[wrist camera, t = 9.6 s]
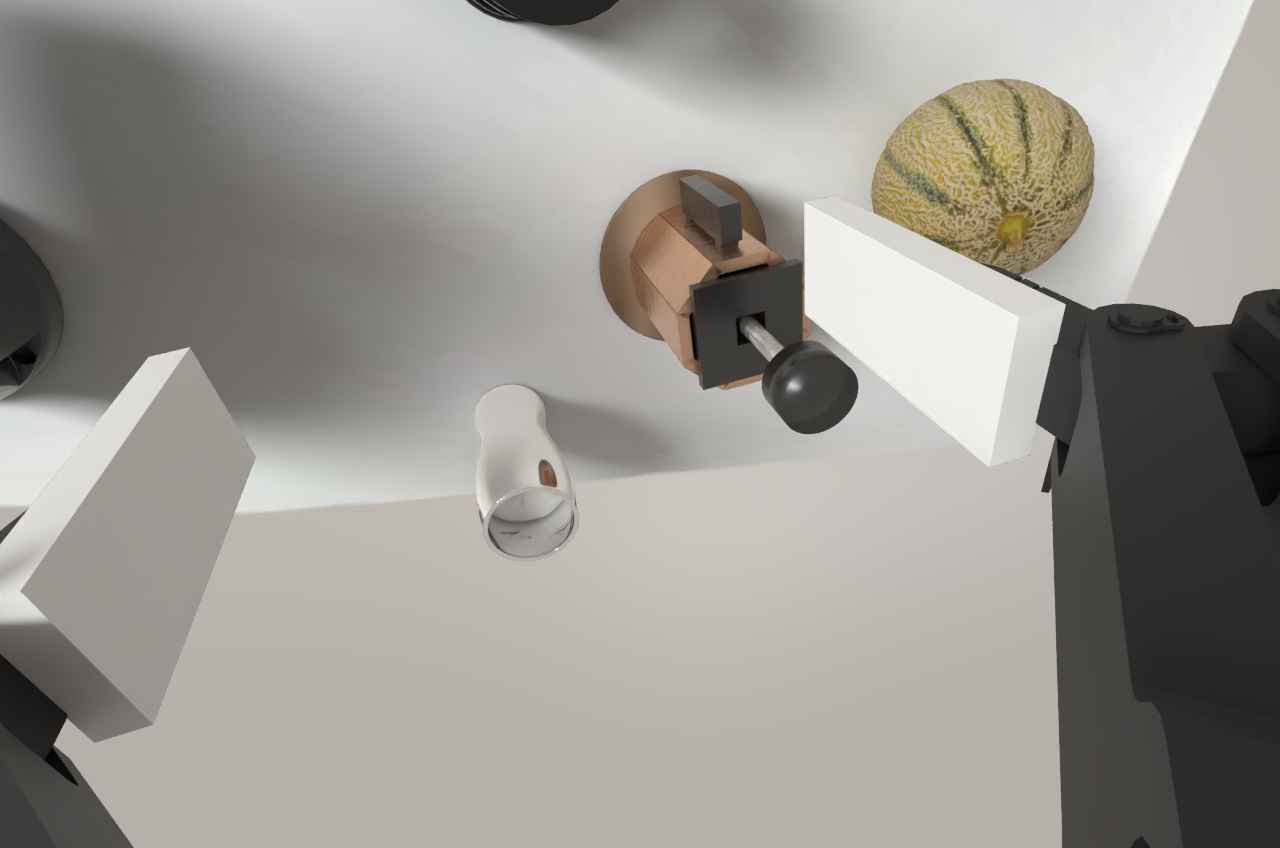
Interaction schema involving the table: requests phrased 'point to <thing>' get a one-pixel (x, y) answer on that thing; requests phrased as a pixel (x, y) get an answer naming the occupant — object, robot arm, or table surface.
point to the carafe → (715, 286)
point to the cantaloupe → (989, 173)
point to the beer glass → (521, 478)
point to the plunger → (802, 379)
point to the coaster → (631, 224)
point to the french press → (543, 10)
